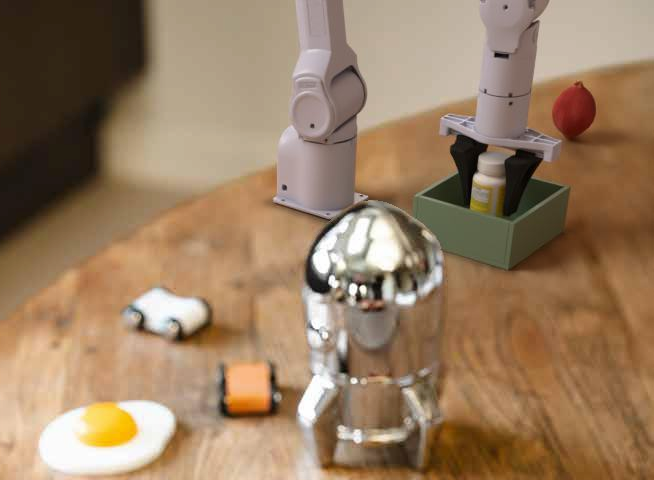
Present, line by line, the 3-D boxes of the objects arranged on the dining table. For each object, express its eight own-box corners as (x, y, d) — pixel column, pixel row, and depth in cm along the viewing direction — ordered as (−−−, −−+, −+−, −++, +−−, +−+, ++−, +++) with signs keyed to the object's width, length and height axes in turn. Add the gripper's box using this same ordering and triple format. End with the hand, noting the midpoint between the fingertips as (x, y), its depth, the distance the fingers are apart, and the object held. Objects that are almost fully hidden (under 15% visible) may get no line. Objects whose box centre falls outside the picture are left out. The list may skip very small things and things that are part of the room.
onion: (547, 130, 169) (555, 71, 164) (589, 132, 169) (599, 72, 163) (549, 146, 165) (558, 85, 160) (592, 147, 164) (603, 87, 159)
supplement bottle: (507, 219, 145) (516, 149, 139) (510, 235, 141) (519, 165, 136) (466, 218, 145) (474, 148, 140) (468, 235, 141) (476, 164, 136)
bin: (410, 240, 143) (413, 195, 139) (468, 204, 151) (473, 160, 147) (508, 270, 137) (514, 224, 133) (563, 231, 144) (571, 186, 141)
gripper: (582, 92, 131) (562, 211, 140) (467, 66, 138) (455, 182, 147) (550, 110, 127) (532, 232, 136) (433, 83, 134) (424, 201, 143)
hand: (490, 207), depth 141 cm, fingers closed on supplement bottle, 5 cm apart
